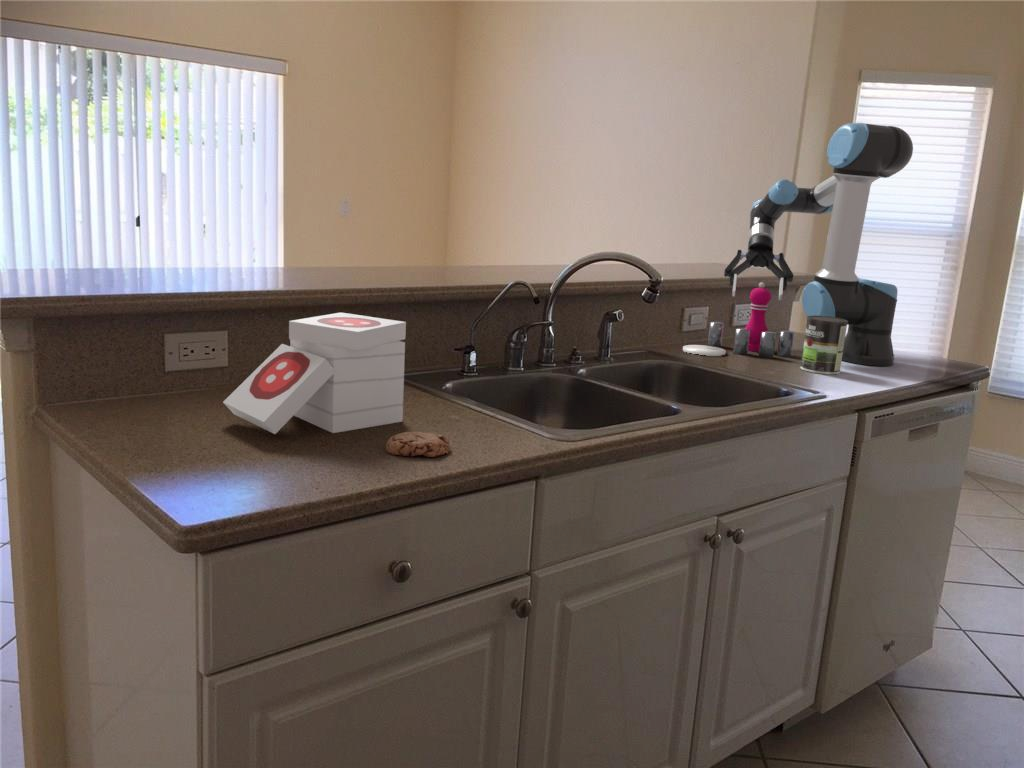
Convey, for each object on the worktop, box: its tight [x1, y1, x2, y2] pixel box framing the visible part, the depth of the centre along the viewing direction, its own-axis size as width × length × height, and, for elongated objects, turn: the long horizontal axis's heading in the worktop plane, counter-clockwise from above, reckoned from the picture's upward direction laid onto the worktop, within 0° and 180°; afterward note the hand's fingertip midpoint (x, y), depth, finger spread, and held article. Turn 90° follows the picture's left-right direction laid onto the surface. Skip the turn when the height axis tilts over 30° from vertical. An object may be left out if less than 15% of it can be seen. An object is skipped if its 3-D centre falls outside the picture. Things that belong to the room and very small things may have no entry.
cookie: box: [385, 431, 451, 458], centre depth 148 cm, size 10×11×3 cm
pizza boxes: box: [222, 312, 407, 435], centre depth 160 cm, size 19×30×18 cm, turn 133°
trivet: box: [682, 344, 727, 357], centre depth 256 cm, size 12×12×1 cm
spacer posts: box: [707, 321, 795, 359], centre depth 261 cm, size 20×18×7 cm
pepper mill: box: [744, 281, 772, 353], centre depth 263 cm, size 7×7×20 cm
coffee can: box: [799, 316, 848, 376], centre depth 237 cm, size 10×10×14 cm
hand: (757, 295), depth 267 cm, fingers open, 13 cm apart
